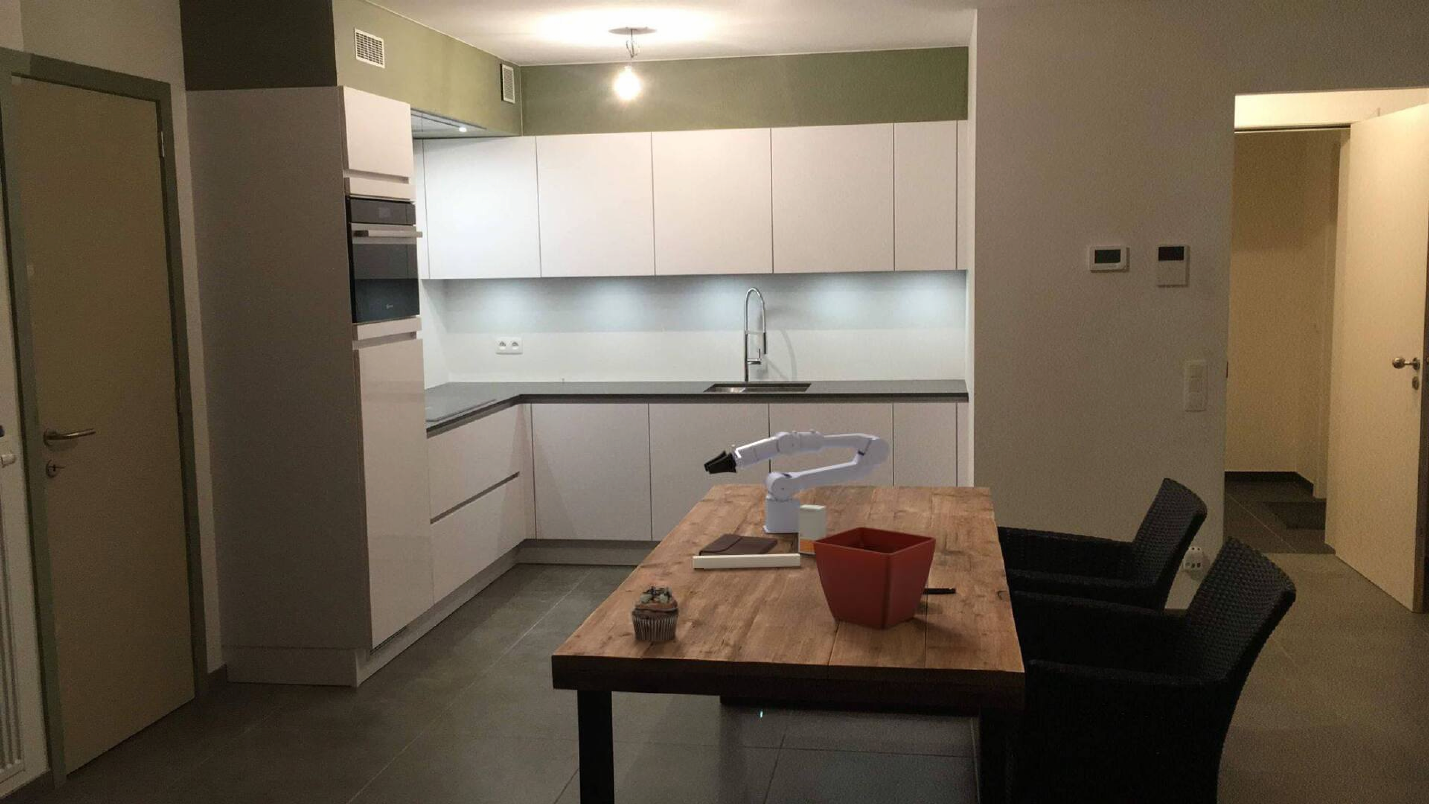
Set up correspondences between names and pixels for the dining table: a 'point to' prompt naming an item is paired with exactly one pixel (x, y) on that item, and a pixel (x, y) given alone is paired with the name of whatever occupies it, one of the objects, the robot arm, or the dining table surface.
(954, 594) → the dining table surface
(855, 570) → the plant pot
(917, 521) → the dining table surface
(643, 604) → the cupcake
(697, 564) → the bar
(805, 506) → the skincare box
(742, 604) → the dining table surface
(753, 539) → the notebook
